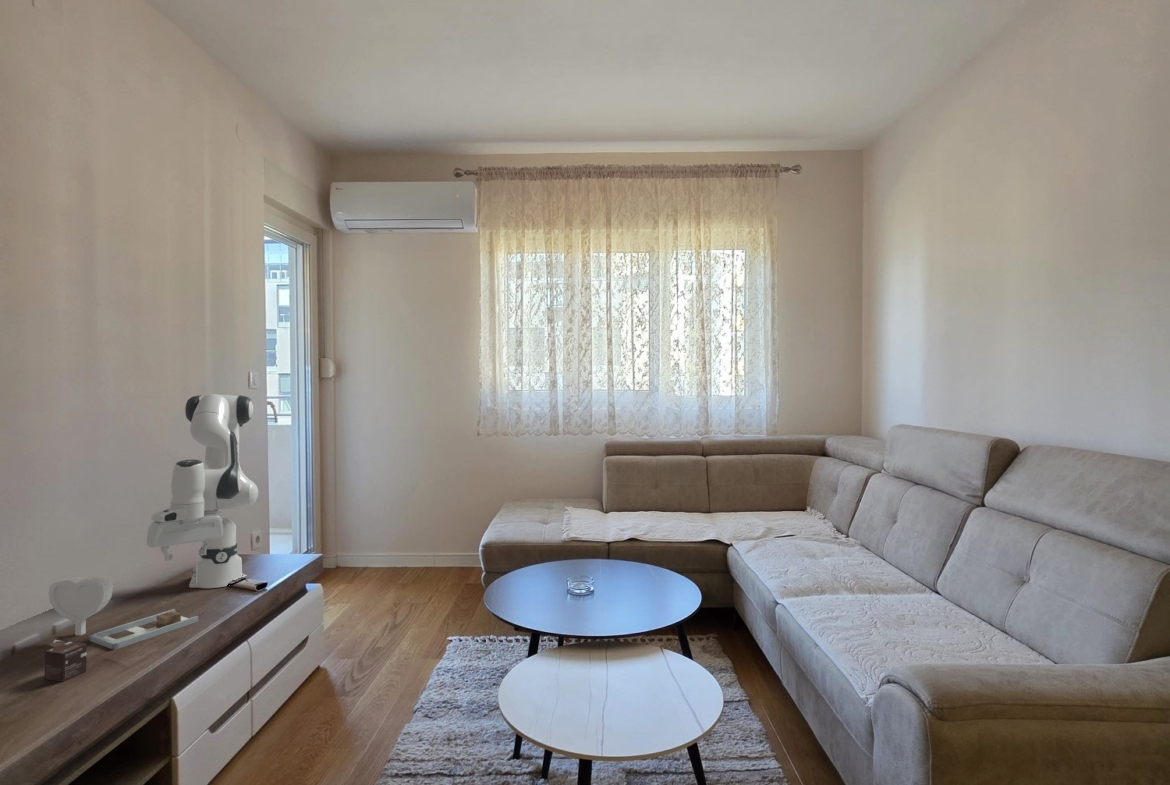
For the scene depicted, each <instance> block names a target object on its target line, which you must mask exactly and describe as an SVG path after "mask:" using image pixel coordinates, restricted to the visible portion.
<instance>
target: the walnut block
mask: <svg viewBox="0 0 1170 785" xmlns="http://www.w3.org/2000/svg"><path fill="white" fill-rule="evenodd" d="M181 616H182V613H179V612H177V611H175V612H174V611H171V612H167V613H164V614H161V615H158V616H156V621H155V625H156V626H155V627H157V628H161V627H164V626H167V625H170V624H173V623H176V622H179V621H181Z"/></svg>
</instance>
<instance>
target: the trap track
mask: <svg viewBox="0 0 1170 785" xmlns="http://www.w3.org/2000/svg"><path fill="white" fill-rule="evenodd" d="M171 611H174V612H176V609H175V608H172V609H170V610H167V611H162V612H159V613H157V614H154V615H151V616H150V615H149V616H147V617H144V618H143V617H142V618H141V619H137V620H134V621H131V622H127V623H125V624H121V625H117V626H114V627H112V628H108V629H105V630H101V631H99V632H95V633H91V634H89V635H88V641H89V642H91V643H94V644H96V645H100V646H103V647H105V648H107V649H111V650H113V651H115V650H118V649H121V648H124V647H127V646H129V645H133V644H135V643H140V642H141V641H144V640H148V639H150V638H153V637H157V636H160V635H162V634H165V633H168V632H172V631H174V630H177V629H180V628H183V627H186V626H189V625H191V624H194V623H197V622H199V616H198V615H195V616H191V617H186V616H183V615H181V621H179V622H176V623H173V624H170V625H167V626H164V627H161V628H157V627H156V626H154V627H150V628H143V627H140V626H144V625H146V624H150V623H153V622H156V616H158V615H161V614H164V613H167V612H171ZM124 631H125V632H126V631H127V632H130V633H133V634H129V635H126V636H123V637H119V638H113V637H110V636H112V635H115V634H118V633H122V632H124Z"/></svg>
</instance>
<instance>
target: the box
mask: <svg viewBox="0 0 1170 785" xmlns="http://www.w3.org/2000/svg"><path fill="white" fill-rule="evenodd" d="M85 672H87V643H83V642H82V643H81V642H74V641H68V642H67V643H61V644H59V645H56V646H54V647H52V648H49V649H47V650H45V651H44V680H47V681H48V680H49V681H58V682H65V681H67V680H70V679H72V678H75V677H76V676H77V677H78V676H79V675H81V674H83V673H85ZM78 674H79V675H78Z"/></svg>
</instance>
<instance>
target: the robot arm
mask: <svg viewBox="0 0 1170 785" xmlns="http://www.w3.org/2000/svg"><path fill="white" fill-rule="evenodd" d="M184 414H185V417H186V419H187V420H188V421H189V422H190V427H189V428H190V429H189V430H190V434H191V436H192V438H193V440H194V441H196V442H197V443H199V444H201V445H203V446H204V447H205V451H204V452H205V454H204V456H205V457H204V462H203V461H202V460H201V459H200V460H199V459H184V460H180V461H177V462H176V463H175V464H174V467H173V470H172V477H171V483H170V491H171V493H172V494H171V496H172V498H171V501H170V507H168V508H165V509H163V510H160V511H158V512H155V513H153V514H151V521H153V522H151V523H150V524H149V526H148V530H147V535H146V536H147V537H146V545H147V546H148V547H150V548H152V549H156V548H160V551H161V552H162V553H163V555H164V562H165V561H166V562H169V561H170V562H171V561H173V559H174V558H173V557H174V554H172V553H169V551H168V550H169V549H170V546H177V545H182V544H183V545H184V544H190V543H197V542H201V547H200V548H199V549H198V556H200V559H199V561H198V562H197V563H196V565H193V566H192V572H193V573H194V574H192V577H191V579H190V582H189V585H188V587H189V588H197V589H198V588H199V589H214V588H215V589H216V588H222V587H223V588H224V587H228V586H227V585H228V583H229V582H230V581H232V580H236V579H238V578H241V577H245V576H248V575H247V574H245V573H244V572H243V564H242V563H243V562H242V557H241V556H239V555H238V543H237V524H236V523H235V521H233V520H232V519H231V518H228V517H225V516H224V515H223V512H222V511H220V510H236V509H237V510H238V509H242V508H248V507H251V506H253V505H254V504H255V503H256V502H257V499H258V497H259V488H258V486H257V484H256V483H255V482H254V481H253V480H251V479H250V478H249V477H248V476H247V475H245V473H244V471H243V469H242V468H241V463H240V428H241V427H243V425H244V424H247V423H248V422H249V421H250V420H251V418H252V416H253V414H254V404H253V402H252V399H251V398H250V397H249V396H246V395H234V394H233V395H231V394H217V393H209V394H205V395H201V394H200V395H194V396H191V397H190V398H188V399H187V401H186V403H185V406H184ZM239 427H240V428H239ZM204 463H205V465H204ZM205 466H207V468H208V469H205ZM242 575H243V576H242Z"/></svg>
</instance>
